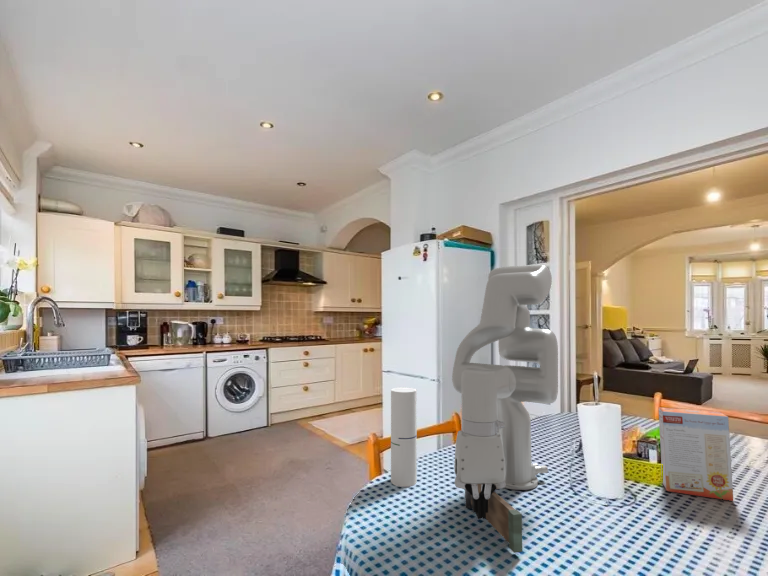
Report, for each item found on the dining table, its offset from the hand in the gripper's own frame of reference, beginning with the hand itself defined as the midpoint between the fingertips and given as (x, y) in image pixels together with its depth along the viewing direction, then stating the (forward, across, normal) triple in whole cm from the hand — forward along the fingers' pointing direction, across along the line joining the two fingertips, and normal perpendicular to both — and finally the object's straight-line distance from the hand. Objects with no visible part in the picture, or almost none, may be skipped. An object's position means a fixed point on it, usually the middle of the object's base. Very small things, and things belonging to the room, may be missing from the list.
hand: (480, 515), depth 84 cm
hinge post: (+4, -1, -12) cm, 13 cm away
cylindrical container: (+4, +14, -27) cm, 30 cm away
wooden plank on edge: (+3, -3, -1) cm, 4 cm away
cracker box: (+4, -62, -19) cm, 65 cm away
